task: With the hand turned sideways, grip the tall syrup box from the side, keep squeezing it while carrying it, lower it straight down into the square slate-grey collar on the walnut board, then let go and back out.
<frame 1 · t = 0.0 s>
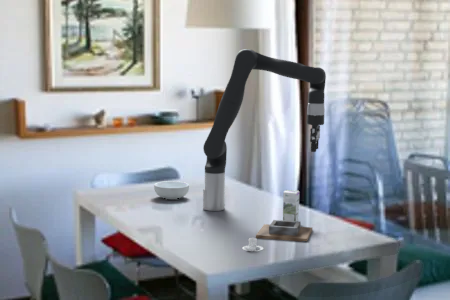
hand: (314, 150, 318), 29 cm above the table, tool pointing down, fingers open, 8 cm apart
syrup box: (290, 225, 306), on the table
teacup and saucer: (244, 250, 269), on the table
cereal bowl: (171, 198, 355), on the table
collar board: (284, 234, 290), on the table
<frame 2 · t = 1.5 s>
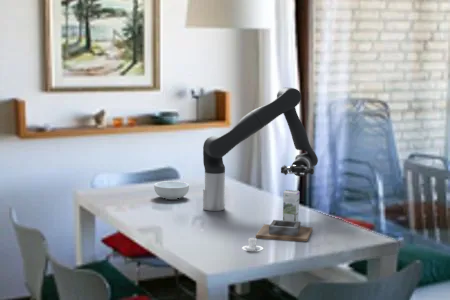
hand: (295, 172, 313), 20 cm above the table, tool horizontal, fingers open, 8 cm apart
nothing on the table moved.
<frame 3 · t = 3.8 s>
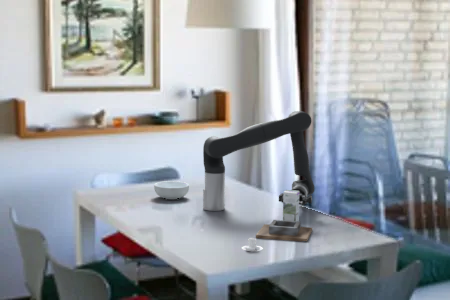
hand: (293, 201, 310), 9 cm above the table, tool horizontal, fingers open, 8 cm apart
nothing on the table moved.
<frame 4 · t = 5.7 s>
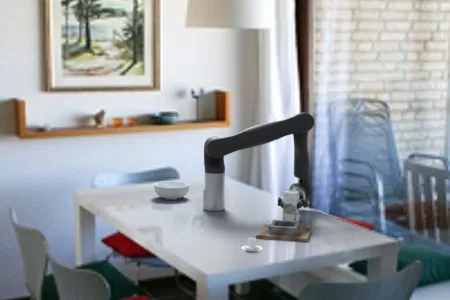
hand: (290, 206, 302), 9 cm above the table, tool horizontal, fingers closed on syrup box, 6 cm apart
syrup box: (290, 225, 306), on the table, touching gripper
everything else where it was.
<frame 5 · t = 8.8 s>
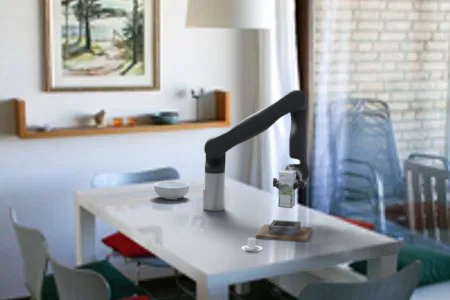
hand: (286, 186, 286), 20 cm above the table, tool horizontal, fingers closed on syrup box, 6 cm apart
syrup box: (286, 206, 289), point 11 cm above the table, touching gripper
everything else where it was.
when the fingers open (11 cm above the table, at t = 11.8 s): syrup box drops 1 cm, resting on collar board.
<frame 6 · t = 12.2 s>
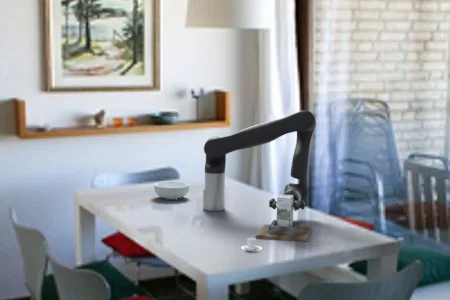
hand: (284, 207, 287), 11 cm above the table, tool horizontal, fingers open, 8 cm apart
syrup box: (284, 231, 290), point 1 cm above the table, touching collar board
everything else where it was.
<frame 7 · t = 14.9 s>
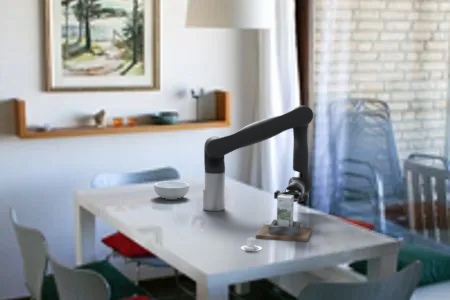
hand: (289, 199, 300), 12 cm above the table, tool horizontal, fingers open, 8 cm apart
nothing on the table moved.
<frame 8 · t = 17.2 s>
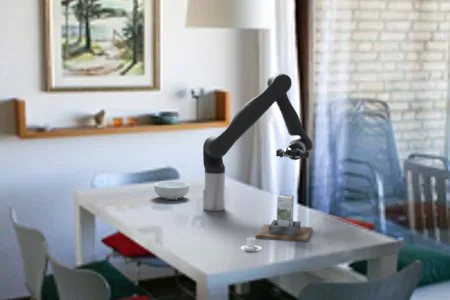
hand: (290, 155, 311), 28 cm above the table, tool horizontal, fingers open, 8 cm apart
nothing on the table moved.
at the end: syrup box 0.2 cm off-centre on the collar board, point 1.0 cm above the collar board's base; syrup box tilted 0°; the gripper is holding nothing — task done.
